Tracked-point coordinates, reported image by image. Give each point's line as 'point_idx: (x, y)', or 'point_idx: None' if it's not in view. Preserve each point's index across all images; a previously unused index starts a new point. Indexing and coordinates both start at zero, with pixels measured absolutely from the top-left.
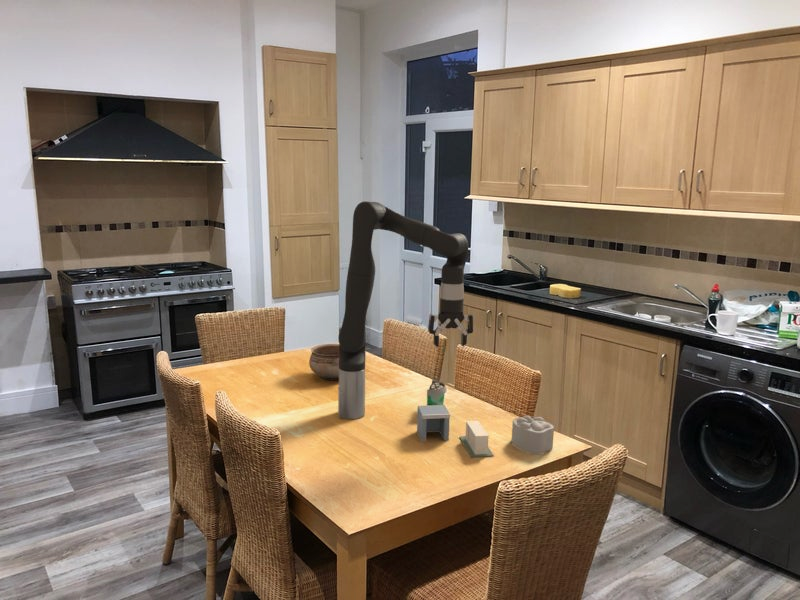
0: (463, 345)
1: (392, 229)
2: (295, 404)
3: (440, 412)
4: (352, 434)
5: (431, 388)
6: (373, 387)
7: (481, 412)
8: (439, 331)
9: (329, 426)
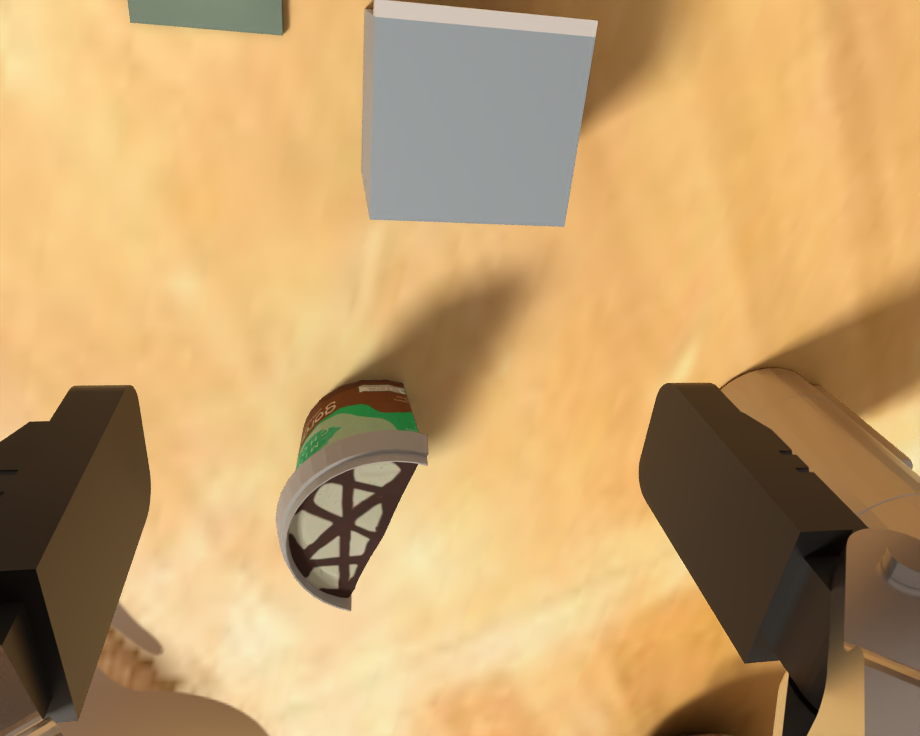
0: (103, 389)
1: None
2: None
3: (442, 59)
4: (847, 191)
5: (383, 503)
6: (556, 680)
7: None
8: (894, 635)
9: (899, 301)
